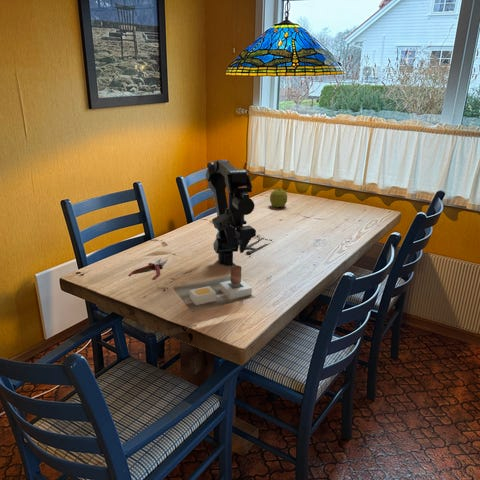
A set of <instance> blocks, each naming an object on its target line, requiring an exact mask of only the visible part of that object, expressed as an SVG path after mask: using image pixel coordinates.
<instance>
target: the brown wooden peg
mask: <svg viewBox="0 0 480 480" xmlns="http://www.w3.org/2000/svg"><path fill="white" fill-rule="evenodd" d="M229 276H230V281H231V283H232V287H231V288H232V289H236V288H240V282H241V279H242V266H241V265H237V264H235V265H234V266H230V275H229Z"/></svg>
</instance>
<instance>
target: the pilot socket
mask: <svg viewBox="0 0 480 480" xmlns="http://www.w3.org/2000/svg"><path fill="white" fill-rule="evenodd" d="M231 287H232V283H231V281H225V282H221V283H220V290H221V291H222V292H223V293H224V294H225V295H226V296H227V297H228V298H229V299H235V298H239V297H243V296H247V295H253V292H252V291H253V287H252V286H251V285H249V284H248V283H247V282H245V281H244V280H243V279H242V278H241V282H240V288H236V289H232V288H231Z"/></svg>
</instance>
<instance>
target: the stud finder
mask: <svg viewBox="0 0 480 480" xmlns="http://www.w3.org/2000/svg"><path fill="white" fill-rule="evenodd" d="M190 299H191V300H192V301H193V303H194V304H195V305H199V304H203V303H208V302H212V301H216V292H215V291H214V290H213V289H212V288H211V287H210V286H207V287H203V288H198V289H193V290H190Z"/></svg>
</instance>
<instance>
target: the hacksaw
mask: <svg viewBox="0 0 480 480" xmlns="http://www.w3.org/2000/svg"><path fill="white" fill-rule="evenodd" d="M256 237H257V238H258V237H259V234H256ZM264 239H265V240H264ZM268 239H269V238H265V237H264V238H263V237H261V238H260V237H259V238H258V239H257V240H258V241H257V240H256V241H254V242H252V243H250V244H248V245H247V246H246V248H245V250H247V251H246V255H248V254H249V255H252V254H253V253H255V252H258V250H260V249H262V248H264V247H266V246H268V245H269V244H266V243H264V244H263V245H260V246H259V247H257V248H256V247H253V246H254V244H255V245H256V244H258V243H259V241H260V242H261V241H262V240H264V241H272V240H273V239H269V240H268Z"/></svg>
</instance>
